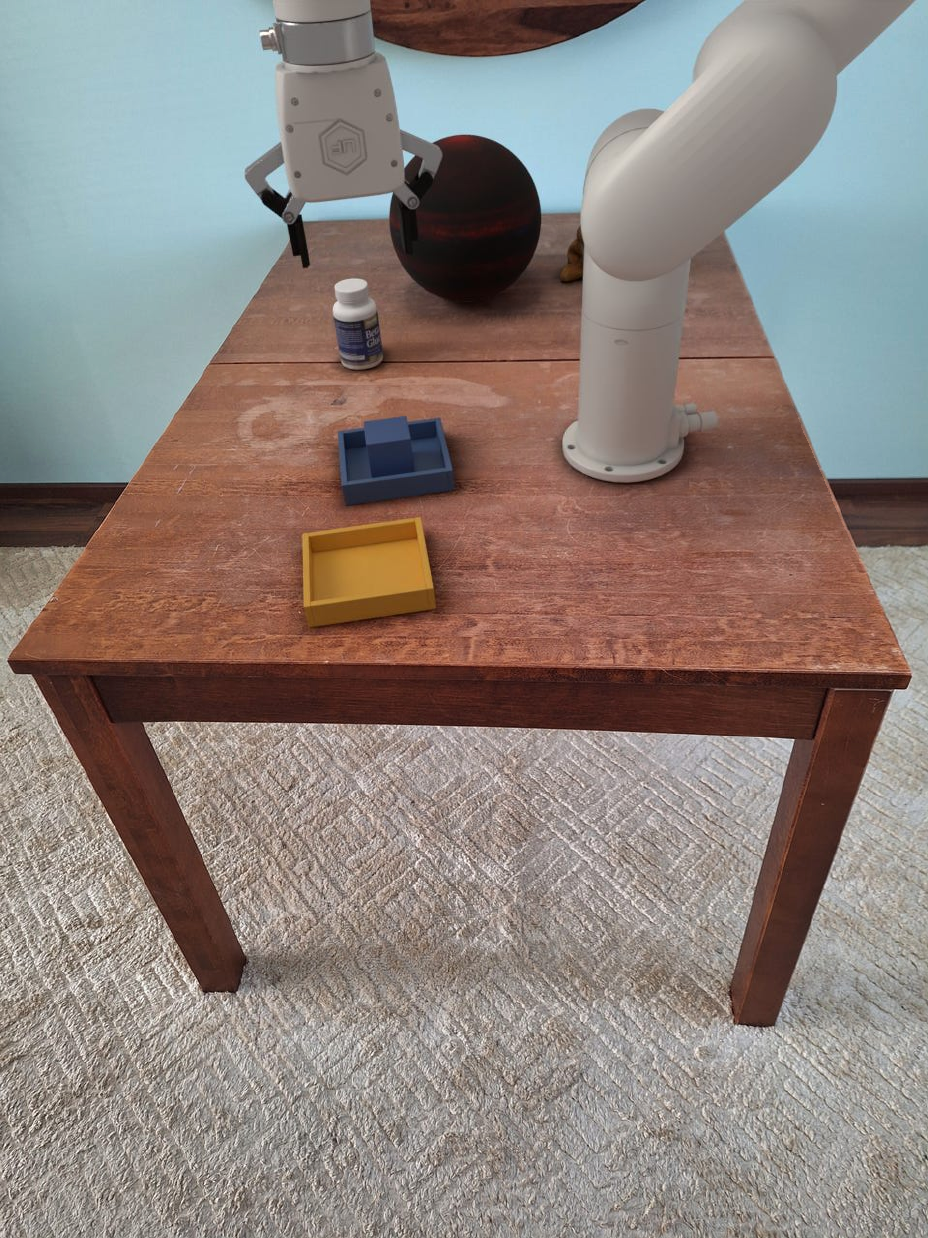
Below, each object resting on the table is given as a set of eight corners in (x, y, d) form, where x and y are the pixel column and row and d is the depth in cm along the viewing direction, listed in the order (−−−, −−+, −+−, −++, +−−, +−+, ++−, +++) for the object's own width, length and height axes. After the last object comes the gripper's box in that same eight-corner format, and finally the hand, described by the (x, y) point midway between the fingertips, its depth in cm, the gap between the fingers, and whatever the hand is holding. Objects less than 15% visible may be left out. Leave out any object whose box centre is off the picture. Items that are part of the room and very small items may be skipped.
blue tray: (442, 436, 96) (440, 417, 94) (454, 490, 88) (452, 470, 87) (341, 450, 95) (337, 430, 93) (345, 505, 88) (341, 485, 86)
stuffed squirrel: (557, 284, 122) (558, 185, 112) (577, 245, 131) (580, 150, 122) (628, 289, 119) (636, 187, 110) (644, 248, 128) (652, 152, 119)
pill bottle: (377, 372, 107) (366, 295, 100) (336, 370, 108) (322, 294, 101) (388, 351, 111) (378, 275, 104) (348, 349, 112) (336, 274, 105)
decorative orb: (383, 326, 116) (361, 165, 102) (415, 265, 130) (400, 115, 116) (532, 329, 112) (530, 163, 98) (548, 266, 126) (549, 112, 112)
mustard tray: (423, 537, 83) (420, 516, 81) (436, 608, 76) (433, 588, 74) (307, 553, 83) (302, 533, 81) (309, 627, 75) (303, 607, 74)
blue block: (411, 452, 93) (406, 415, 90) (415, 475, 90) (410, 438, 87) (369, 457, 93) (363, 421, 90) (372, 481, 89) (366, 444, 86)
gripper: (217, 62, 66) (265, 283, 78) (441, 39, 67) (454, 259, 79) (219, 42, 71) (263, 252, 83) (426, 21, 73) (440, 229, 85)
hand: (356, 255), depth 81 cm, fingers open, 9 cm apart
